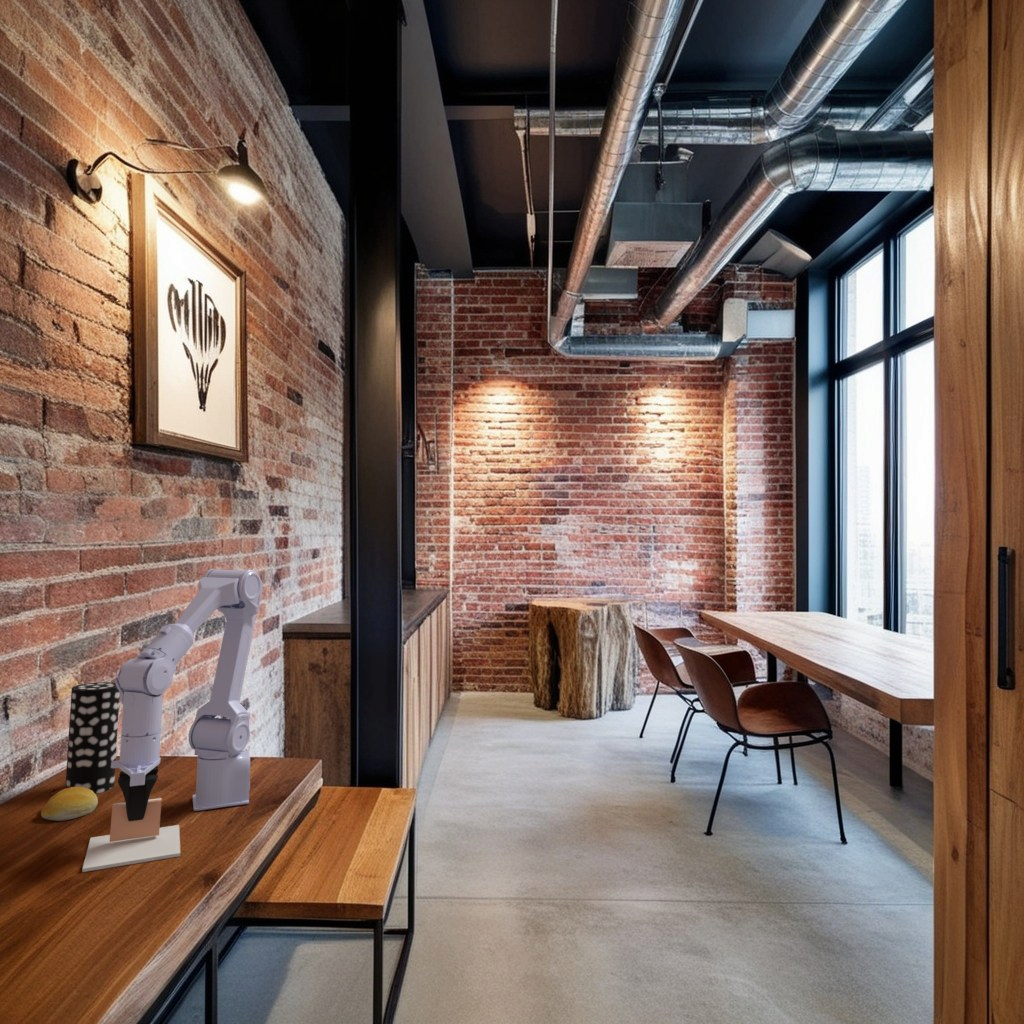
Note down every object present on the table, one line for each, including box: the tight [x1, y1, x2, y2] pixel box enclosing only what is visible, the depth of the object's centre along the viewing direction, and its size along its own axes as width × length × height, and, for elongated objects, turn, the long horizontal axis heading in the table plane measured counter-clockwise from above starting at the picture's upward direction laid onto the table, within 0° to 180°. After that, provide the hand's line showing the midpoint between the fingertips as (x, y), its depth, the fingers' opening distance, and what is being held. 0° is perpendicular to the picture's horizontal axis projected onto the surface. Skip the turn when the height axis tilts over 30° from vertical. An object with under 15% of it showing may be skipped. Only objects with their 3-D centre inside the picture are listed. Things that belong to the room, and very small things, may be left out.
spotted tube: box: [64, 681, 120, 795], centre depth 135 cm, size 8×8×20 cm
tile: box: [109, 797, 162, 842], centre depth 110 cm, size 7×1×6 cm, turn 117°
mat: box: [81, 824, 181, 873], centre depth 108 cm, size 13×12×1 cm
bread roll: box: [40, 787, 99, 822], centre depth 122 cm, size 8×9×4 cm
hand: (136, 817), depth 110 cm, fingers closed on tile, 1 cm apart
